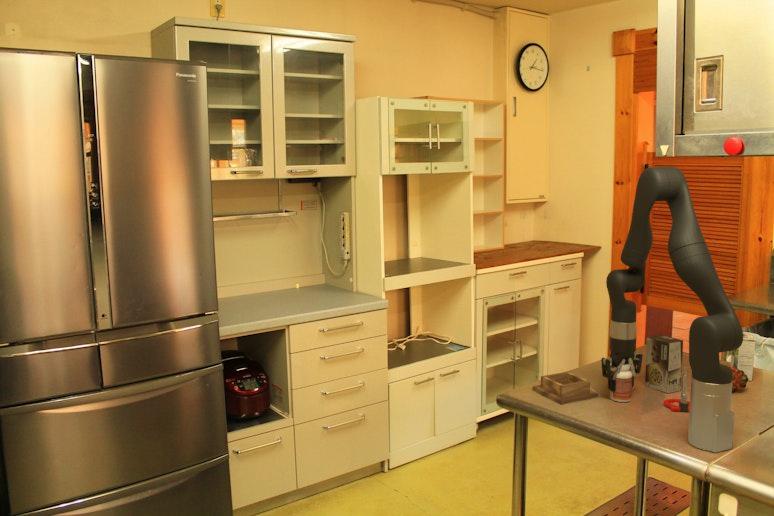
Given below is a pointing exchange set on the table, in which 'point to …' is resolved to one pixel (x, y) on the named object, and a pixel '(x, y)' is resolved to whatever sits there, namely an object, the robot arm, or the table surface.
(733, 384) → the dragon fruit
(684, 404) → the tow hook
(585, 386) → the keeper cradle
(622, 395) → the pill bottle
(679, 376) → the coffee box
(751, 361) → the syrup box
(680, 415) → the table surface
